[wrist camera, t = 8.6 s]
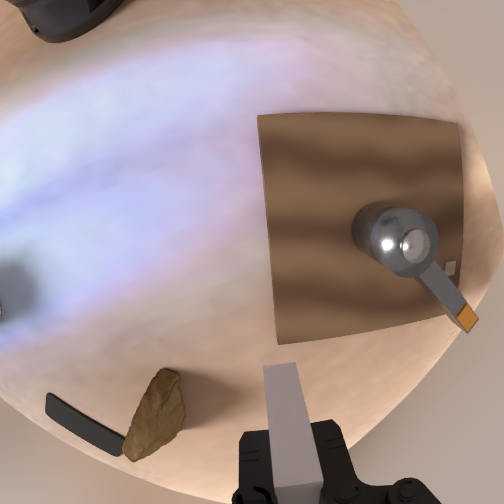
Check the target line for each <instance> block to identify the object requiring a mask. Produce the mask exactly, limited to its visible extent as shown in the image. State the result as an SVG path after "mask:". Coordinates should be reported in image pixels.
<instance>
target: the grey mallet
mask: <svg viewBox="0 0 504 504" xmlns="http://www.w3.org/2000/svg"><path fill="white" fill-rule="evenodd" d="M351 234H352V239H353V241H354V243H355V245H356V247H357V248H358V249H359V250H360V251H361V252H363V253H365V254H366V255H368V256H369V257H371V258H372V259H374V260H375V261H377V262H378V263H380V264H381V265H383V266H384V267H386V268H387V269H389V270H390V271H392V272H393V273H395V274H396V275H398V276H400V277H403V278H414V279H415V280H416V281H417V282H418V283H419V284H420V285H421V286H422V288H423V289H424V290H425V291H426V292H427V293H428V294H429V295H430V296H431V298H432V299H433V300H434V301H435V302H436V303H437V304H438V305H439V307H440V308H441V309H442V310H443V311H444V312H445V314H446V315H447V316H448V317H449V318H450V319H451V321H452V322H453V323H454V324H456V325H457V326H458V327H459V328H461V329H462V330H463V331H465V332H466V333H467V334H468V333H469V332H470V330H471V329H472V328H473V326H474V325H475V324H476V322H477V321H478V320H479V319H478V317H477V316H476V314H475V313H474V311H473V310H472V308H471V307H470V306H469V304H468V303H467V301H466V300H465V299H464V297H463V296H462V295H461V293H460V292H459V291H458V289H457V288H456V287H455V285H454V284H453V283H452V281H451V280H450V279H449V277H448V276H447V275H446V274H445V272H444V271H443V270H442V269H441V267H440V266H439V265H438V264H437V263H436V261H435V260H434V259H435V257H436V254H437V251H438V245H439V236H438V230H437V227H436V225H435V223H434V221H433V220H432V219H431V218H430V216H428V215H427V214H425V213H424V212H421V211H417V210H412V209H408V208H403V207H398V206H393V205H388V204H383V203H370V204H367V205H365V206H363V207H362V208H361V209H360V210H359V211H358V212H357V213H356V215H355V217H354V219H353V222H352V227H351Z"/></svg>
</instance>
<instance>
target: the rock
mask: <svg viewBox="0 0 504 504" xmlns="http://www.w3.org/2000/svg"><path fill="white" fill-rule="evenodd" d="M178 382H179V376H178V374H177V373H174V372H171V371H168V370H166V369H160V370H159V371H158V372H157V373H156V376H155V377H153V379H152V380H151V382H150V384H149V386H148V388H147V390H146V392H145V394H144V395H143V397H142V399H141V402H140V404H139V406H138V408H137V410H136V413H135V414H134V417H133V419H132V421H131V426H130V427H129V431H128V433H127V435H126V438H125V441H124V443H123V446H122V451H123V453H124V454H125V456H126V457H127V458H128V459H129V460H130V461H132V462H136V461H138V460H140V459H143V458H145V457H146V456H149V455H151V454H152V453H154V452H155V451H157V450H158V449H159V448H160V447H161V446H163V445H166V444H167V443H169V442H170V441H171V440H173V439H174V438H175V437H176V435H177V433H178V432H179V431H181V430H182V429H181V426H182V422H183V421H184V417H185V411H184V409H185V408H184V405H183V401H182V400H181V393H180V390H179V389H178Z"/></svg>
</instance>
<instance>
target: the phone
mask: <svg viewBox="0 0 504 504" xmlns="http://www.w3.org/2000/svg"><path fill="white" fill-rule="evenodd" d="M45 412H46V414H47V415H48V416H49V417H50V418H51V419H53V420H54V421H56V422H57V423H58V424H60V425H61V426H63V427H64V428H66V429H68V430H69V431H71V432H72V433H74V434H75V435H77V436H79V437H80V438H82V439H84V440H85V441H87V442H89V443H91V444H92V445H94V446H96V447H98V448H99V449H101V450H103V451H105V452H107V453H109V454H111V455H113V456H116V457H118V456H120V454H121V452H122V446H123V443H124V441H125V438H124V437H123V436H122V435H120V434H118V433H116V432H114V431H112V430H110V429H108V428H107V427H105V426H103V425H101V424H100V423H98V422H96V421H94V420H92V419H91V418H89V417H87V416H86V415H84V414H82V413H81V412H79V411H78V410H76V409H74V408H73V407H71V406H70V405H68V404H67V403H65V402H64V401H62V400H61V399H59V398H58V397H56V396H55V395H53V394H52V393H47V395H46V406H45Z"/></svg>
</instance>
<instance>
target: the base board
mask: <svg viewBox="0 0 504 504" xmlns="http://www.w3.org/2000/svg"><path fill="white" fill-rule="evenodd" d="M257 125H258V135H259V144H260V154H261V164H262V174H263V184H264V195H265V206H266V216H267V228H268V239H269V250H270V262H271V274H272V286H273V299H274V312H275V325H276V337H277V342H278V345H282V344H291V343H299V342H307V341H314V340H321V339H328V338H334V337H341V336H347V335H352V334H358V333H364V332H369V331H374V330H380V329H385V328H389V327H394V326H399V325H403V324H408V323H412V322H417V321H421V320H425V319H429V318H433V317H437V316H441V315H445V312H444V311H443V310H442V309H441V308H440V307H439V305H438V304H437V303H436V302H435V301H434V300H433V299H432V298H431V296H430V295H429V294H428V293H427V292H426V291H425V290H424V289H423V288H422V286H421V285H420V284H419V283H418V282H417V281H416V280H415V279H414V278H403V277H400V276H398V275H396V274H395V273H393V272H392V271H390V270H389V269H387V268H386V267H384V266H383V265H381V264H380V263H378V262H377V261H375V260H374V259H372V258H371V257H369V256H368V255H366V254H365V253H363V252H361V251H360V250H359V249H358V248H357V247H356V245H355V243H354V241H353V239H352V234H351V227H352V222H353V219H354V217H355V215H356V213H357V212H358V211H359V210H360V209H361V208H362V207H363V206H365V205H367V204H370V203H383V204H388V205H393V206H398V207H403V208H408V209H412V210H417V211H421V212H424V213H425V214H427V215H428V216H430V218H431V219H432V220H433V221H434V223H435V225H436V227H437V230H438V236H439V245H438V251H437V254H436V257H435V259H434V260H435V261H436V263H437V264H438V265H439V266H440V267H441V269H442V270H443V271H444V272H445V274H446V275H447V276H448V277H449V279H450V280H451V281H452V283H453V284H454V285H455V287H456V288H457V289H458V285H459V277H460V268H461V257H462V242H463V174H462V160H461V149H460V140H459V132H458V125H457V123H453V122H446V121H440V120H433V119H425V118H417V117H408V116H397V115H385V114H368V113H333V112H321V113H285V114H268V115H258V116H257Z"/></svg>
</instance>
